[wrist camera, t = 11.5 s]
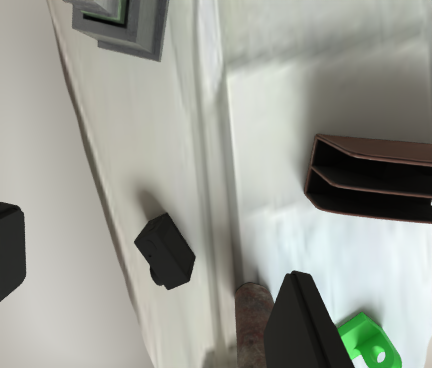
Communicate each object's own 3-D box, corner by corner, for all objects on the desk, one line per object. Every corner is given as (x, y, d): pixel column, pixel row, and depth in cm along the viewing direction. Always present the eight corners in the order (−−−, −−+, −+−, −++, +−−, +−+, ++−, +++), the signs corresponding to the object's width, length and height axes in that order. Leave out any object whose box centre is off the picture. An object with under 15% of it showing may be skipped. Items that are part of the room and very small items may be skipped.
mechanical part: (361, 311, 48) (385, 350, 40) (381, 328, 49) (409, 369, 41) (314, 343, 51) (328, 385, 43) (334, 358, 52) (351, 402, 44)
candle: (280, 289, 47) (311, 414, 28) (264, 316, 50) (283, 449, 31) (243, 276, 47) (249, 393, 28) (229, 304, 49) (226, 430, 30)
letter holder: (314, 133, 38) (358, 149, 25) (446, 144, 37) (566, 167, 24) (302, 193, 41) (335, 236, 28) (424, 205, 40) (518, 255, 27)
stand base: (106, -27, 33) (68, -66, 26) (170, -12, 33) (151, -46, 26) (101, 48, 36) (66, 33, 29) (160, 62, 36) (141, 51, 29)
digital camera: (142, 223, 45) (126, 244, 38) (166, 211, 44) (154, 230, 37) (171, 267, 47) (161, 293, 41) (195, 256, 46) (189, 282, 40)
